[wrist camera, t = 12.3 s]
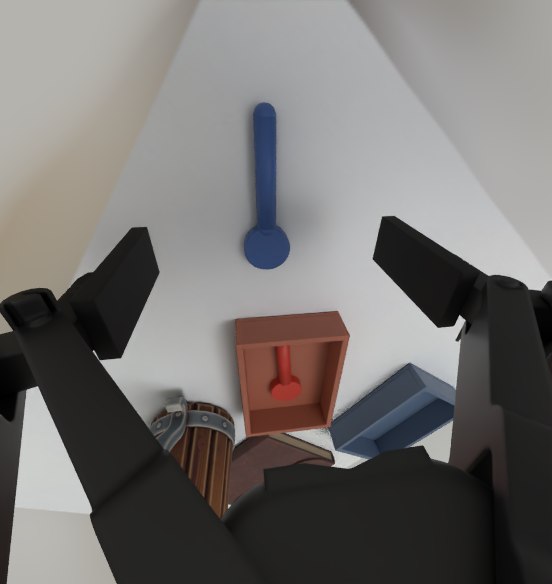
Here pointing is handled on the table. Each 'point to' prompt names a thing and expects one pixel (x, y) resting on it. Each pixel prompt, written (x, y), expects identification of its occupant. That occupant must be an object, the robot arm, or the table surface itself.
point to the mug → (199, 446)
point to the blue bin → (395, 414)
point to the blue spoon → (265, 196)
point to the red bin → (304, 365)
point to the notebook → (270, 459)
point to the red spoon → (285, 377)
